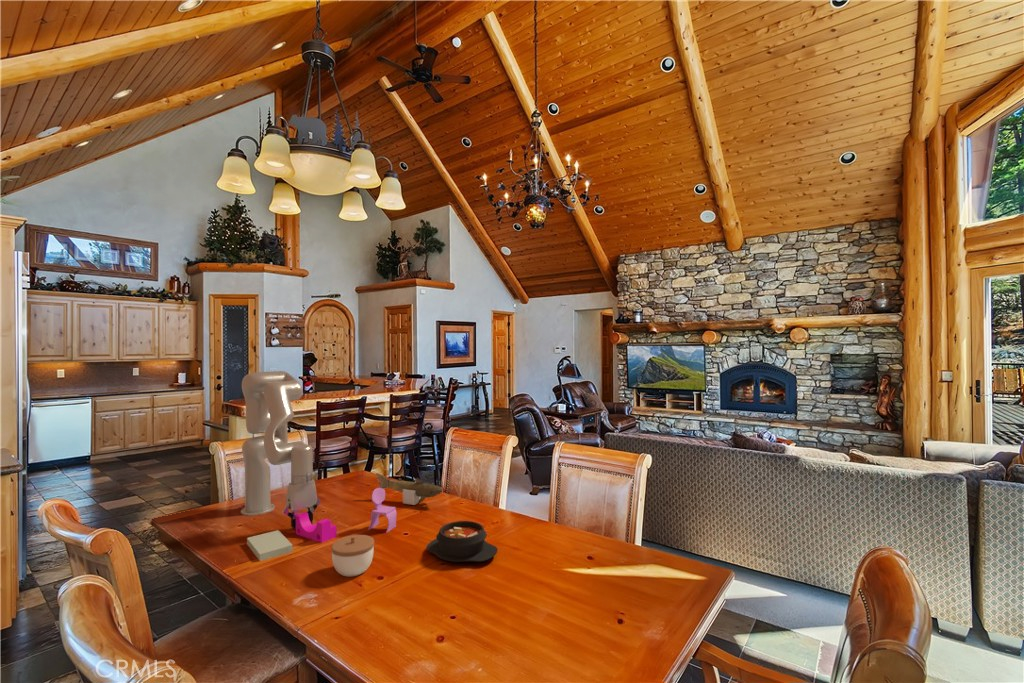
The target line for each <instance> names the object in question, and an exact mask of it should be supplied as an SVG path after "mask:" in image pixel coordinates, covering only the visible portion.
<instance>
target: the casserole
mask: <svg viewBox="0 0 1024 683" xmlns="http://www.w3.org/2000/svg"><path fill="white" fill-rule="evenodd" d="M487 536H488V534H487V531H486V529H484V526H483V525H482V524H480V523H478V522H477V521H471V520H460V521H458V520H457V521H453V522H449V523H446V524H444V525H443V526H442V527H440V529H439V531H438V533H437V534H436V537H435V538H434V539H433V540H431V541H430V542H429V543H428V544H427V545H426V550H427V551H428V552H430V553H432V554H434V555H435V556H436V557H438V558H439V559H441V560H444V561H447V562H454V563H458V562H459V563H460V562H462V563H463V562H476V563H479V562H480V563H483V562H486V561H488V560H490V559H492V558H493V557H495V555H497V553H498V551H499V550H498V549H499V548H498V547H497V546H496V545H494V544H491V543H489V542H487V541H486V540H485V539H486V538H487Z"/></svg>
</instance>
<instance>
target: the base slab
mask: <svg viewBox="0 0 1024 683" xmlns="http://www.w3.org/2000/svg"><path fill="white" fill-rule="evenodd" d="M246 545H247V546H248V548H249V549H250V550H251V551H252V552H253V554H254V556H255V557H256V558H257V559H258V561H260V562H261V561H265V560H269V559H273V558H276V557H279V556H284V555H286V554H291V553H293V552H294V551H293V550H294V549H293V547H294V545H293V543H291V542H290V540H288V539H287V537H286V536H284V534H282V532H281V531H280V530H278V529H277V530H273V531H270V532H266V533H265V532H263V533H262V534H258V535H253V536H249V537H247V538H246Z"/></svg>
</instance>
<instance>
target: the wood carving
mask: <svg viewBox="0 0 1024 683" xmlns="http://www.w3.org/2000/svg"><path fill="white" fill-rule="evenodd" d="M375 475H376V480H377V481H378V485H379V488H383V489H392V490H394V491H397V492H399V493H402V504H405V505H410V506H411V505H412V506H415V505H417V504H418V503H422V502H423V501H424V500H425V499H426V498H434V497H436V496H437V495H440V494H441V493H442V492H443V489H444V488H443V487H441V486H439V485H435V484H432V483H428V482H427V483H426V482H423V481H422V480H421V478H419V477H415V481H407V480H403V479H402V478H401V477H399V478H398V479H397V480H396V479H392V478H391V479H389V478H387V477H386V476H385V475H383V474H381V473H378V472H376V474H375Z"/></svg>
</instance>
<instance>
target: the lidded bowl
mask: <svg viewBox="0 0 1024 683" xmlns="http://www.w3.org/2000/svg"><path fill="white" fill-rule="evenodd" d="M330 547H331V559H332V565H333V567H334V569H335V571H336V572H337V573H338V574H340V575H341V576H343V577H349V578H351V577H356V576H359V575H362V574H363V573H365V572H366V571H367V569H368V568H369V567H370V565H371V563H372V562H373V558H374V552H375V550H374V547H375V539H374V537H372V536H370V535H367V534H354V535H353V534H352V535H348V536H344V537H342V538H339V539H337V540H336V541H334V542H333V543H332V544H331V546H330Z"/></svg>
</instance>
